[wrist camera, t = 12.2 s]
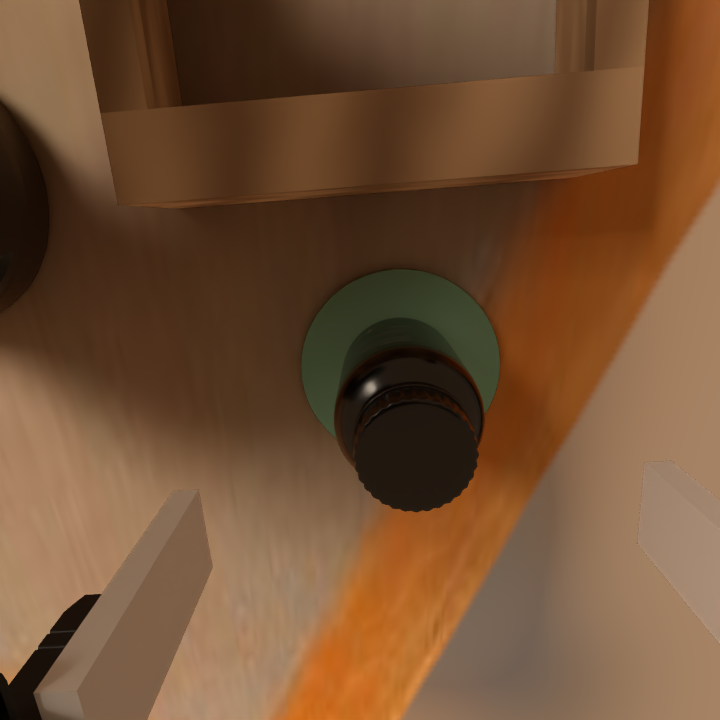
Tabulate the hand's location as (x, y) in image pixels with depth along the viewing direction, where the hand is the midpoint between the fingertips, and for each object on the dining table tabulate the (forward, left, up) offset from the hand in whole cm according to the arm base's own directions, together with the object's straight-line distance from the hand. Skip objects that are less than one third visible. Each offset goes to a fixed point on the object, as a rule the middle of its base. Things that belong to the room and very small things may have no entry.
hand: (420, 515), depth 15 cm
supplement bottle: (0, 0, -16) cm, 16 cm away
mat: (0, 0, -17) cm, 17 cm away
